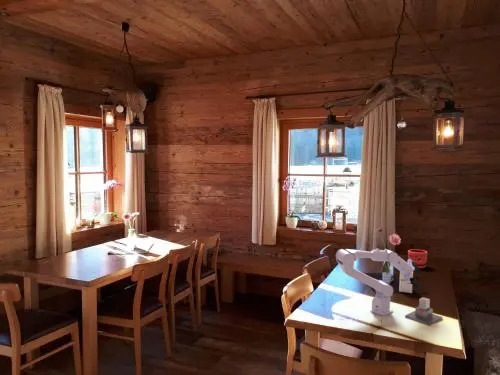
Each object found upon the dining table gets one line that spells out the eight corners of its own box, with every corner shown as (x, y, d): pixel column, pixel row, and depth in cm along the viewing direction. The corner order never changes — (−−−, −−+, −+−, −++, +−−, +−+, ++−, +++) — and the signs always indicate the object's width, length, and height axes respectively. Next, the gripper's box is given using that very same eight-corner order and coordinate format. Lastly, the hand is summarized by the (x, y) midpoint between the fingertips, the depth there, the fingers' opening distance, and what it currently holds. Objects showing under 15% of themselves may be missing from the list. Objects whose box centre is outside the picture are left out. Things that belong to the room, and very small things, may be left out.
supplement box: (399, 291, 249) (399, 271, 248) (399, 288, 256) (400, 268, 255) (412, 293, 246) (413, 272, 245) (412, 289, 253) (413, 269, 252)
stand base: (429, 325, 201) (430, 315, 200) (405, 317, 211) (405, 307, 210) (442, 318, 209) (443, 309, 209) (418, 311, 219) (418, 301, 219)
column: (425, 317, 207) (426, 300, 206) (418, 315, 210) (419, 298, 209) (429, 315, 210) (430, 299, 209) (422, 313, 212) (423, 297, 212)
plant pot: (429, 267, 303) (430, 251, 302) (421, 270, 294) (421, 253, 293) (413, 263, 313) (413, 247, 312) (404, 266, 304) (404, 250, 303)
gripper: (406, 274, 210) (425, 288, 213) (409, 252, 220) (426, 266, 223) (396, 278, 216) (414, 292, 219) (398, 256, 225) (415, 269, 228)
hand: (419, 279), depth 221 cm, fingers open, 7 cm apart
